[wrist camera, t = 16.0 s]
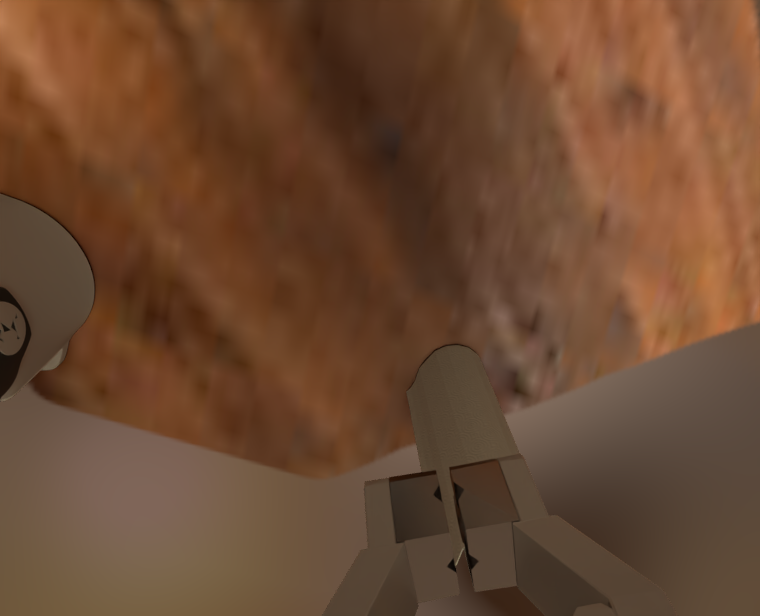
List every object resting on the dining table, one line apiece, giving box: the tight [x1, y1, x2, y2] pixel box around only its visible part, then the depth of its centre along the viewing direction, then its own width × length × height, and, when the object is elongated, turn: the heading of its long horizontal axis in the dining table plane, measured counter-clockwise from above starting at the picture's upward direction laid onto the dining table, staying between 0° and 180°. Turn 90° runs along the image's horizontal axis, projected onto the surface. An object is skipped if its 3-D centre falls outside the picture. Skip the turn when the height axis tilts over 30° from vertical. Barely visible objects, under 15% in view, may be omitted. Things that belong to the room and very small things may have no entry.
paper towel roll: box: [406, 345, 520, 566], centre depth 46 cm, size 7×6×21 cm
